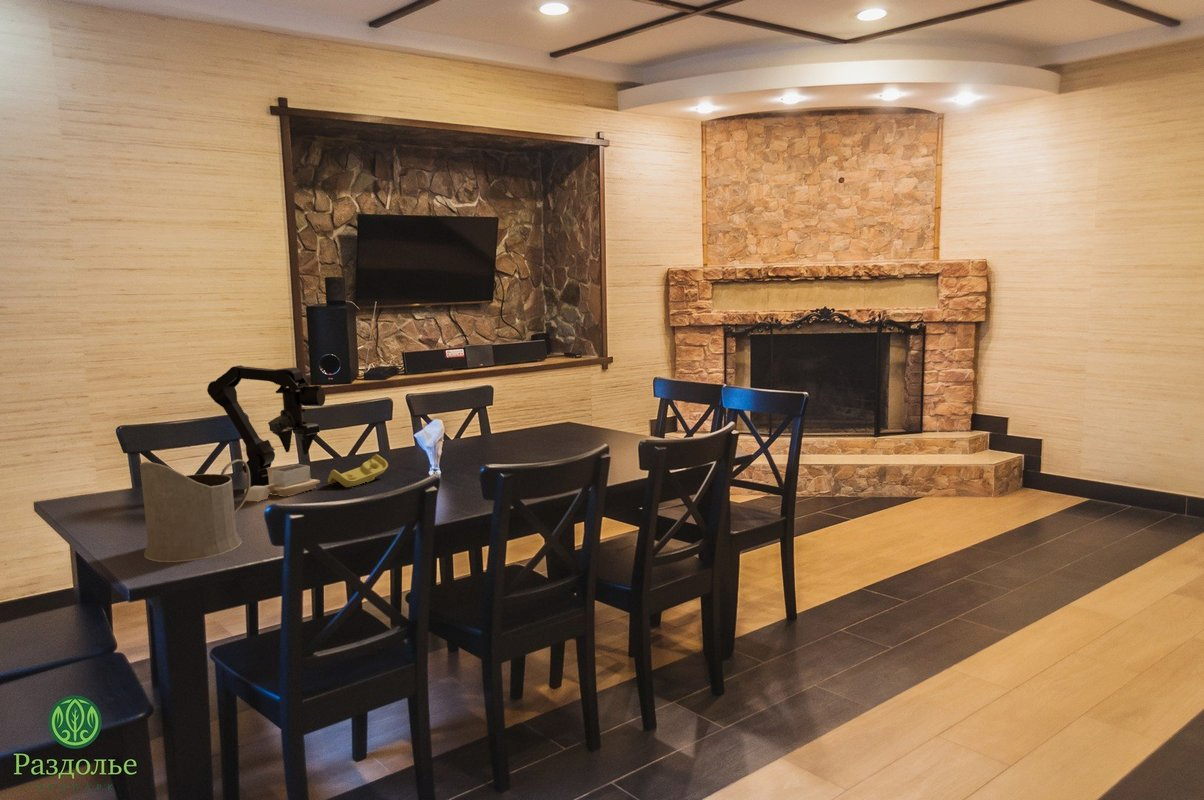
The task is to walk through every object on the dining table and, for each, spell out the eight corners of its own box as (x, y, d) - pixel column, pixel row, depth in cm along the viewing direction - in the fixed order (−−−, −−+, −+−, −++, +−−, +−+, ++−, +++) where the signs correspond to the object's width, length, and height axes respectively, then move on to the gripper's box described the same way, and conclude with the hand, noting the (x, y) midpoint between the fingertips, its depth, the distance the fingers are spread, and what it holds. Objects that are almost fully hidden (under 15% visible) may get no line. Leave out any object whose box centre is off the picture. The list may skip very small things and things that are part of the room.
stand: (264, 495, 291) (264, 486, 291) (300, 485, 302) (300, 477, 302) (284, 498, 285) (283, 489, 285) (320, 489, 297) (319, 480, 297)
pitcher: (124, 556, 231) (113, 460, 227) (224, 523, 259) (216, 437, 255) (187, 566, 221) (177, 466, 217) (284, 531, 249) (277, 442, 245)
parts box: (245, 501, 284) (244, 489, 283) (255, 497, 288) (254, 485, 288) (259, 502, 282) (257, 490, 282) (269, 498, 287) (268, 486, 286)
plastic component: (350, 482, 295) (329, 467, 299) (345, 500, 299) (325, 485, 302) (393, 466, 312) (373, 451, 316) (389, 483, 315) (369, 469, 319)
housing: (299, 478, 299) (297, 464, 299) (310, 480, 296) (309, 465, 295) (273, 485, 291) (272, 470, 290) (285, 487, 288) (283, 472, 287)
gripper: (253, 408, 293) (257, 455, 295) (290, 411, 283) (294, 460, 285) (282, 403, 302) (286, 449, 304) (319, 406, 292) (322, 453, 294)
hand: (296, 453), depth 297 cm, fingers open, 9 cm apart
